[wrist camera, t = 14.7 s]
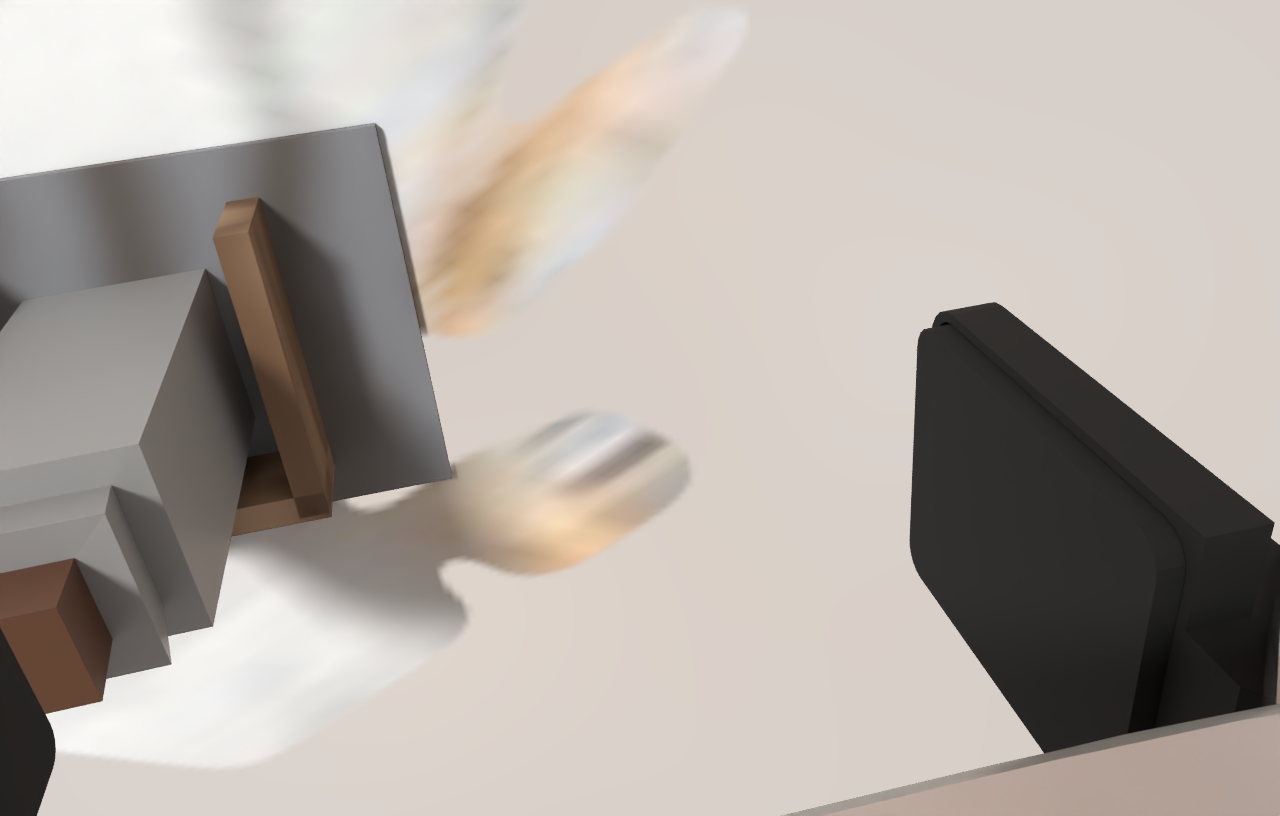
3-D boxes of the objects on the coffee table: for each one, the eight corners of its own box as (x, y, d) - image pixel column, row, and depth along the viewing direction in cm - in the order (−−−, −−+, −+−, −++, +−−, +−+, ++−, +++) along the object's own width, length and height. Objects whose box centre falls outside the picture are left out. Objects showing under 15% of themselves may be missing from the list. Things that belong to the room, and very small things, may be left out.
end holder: (374, 122, 41) (374, 154, 37) (451, 473, 49) (457, 528, 45) (-256, 216, 38) (-327, 261, 34) (-64, 573, 46) (-104, 641, 42)
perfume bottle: (88, 449, 44) (-68, 792, 29) (23, 300, 41) (-194, 597, 25) (255, 417, 45) (191, 732, 30) (205, 268, 42) (103, 536, 26)
